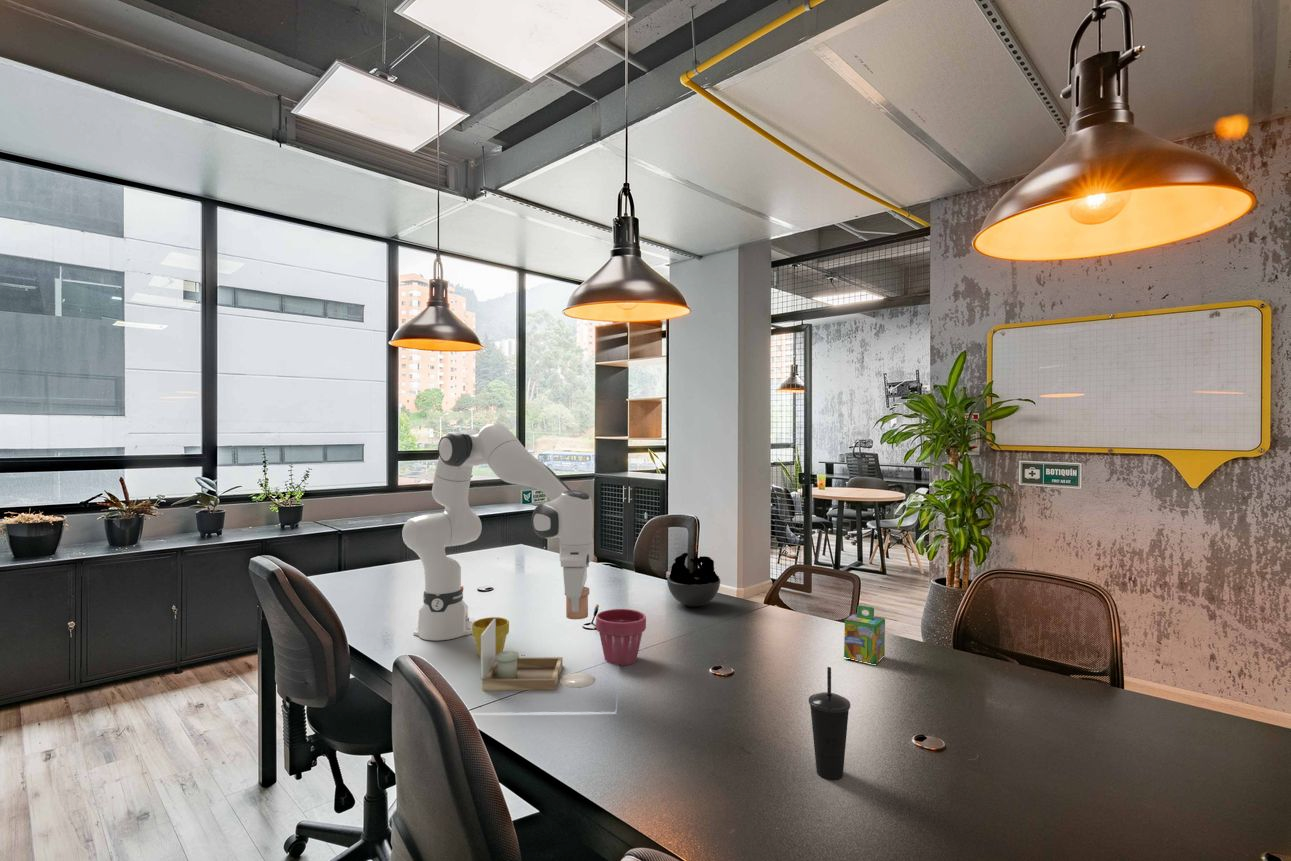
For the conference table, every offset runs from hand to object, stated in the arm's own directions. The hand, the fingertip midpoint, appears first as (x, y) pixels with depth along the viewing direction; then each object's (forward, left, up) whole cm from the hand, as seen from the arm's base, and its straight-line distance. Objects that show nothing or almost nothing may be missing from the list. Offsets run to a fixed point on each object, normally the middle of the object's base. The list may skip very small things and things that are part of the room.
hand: (576, 607), depth 161 cm
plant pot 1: (-20, -27, -20) cm, 39 cm away
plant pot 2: (-16, +11, -20) cm, 28 cm away
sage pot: (-2, -18, -19) cm, 27 cm away
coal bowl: (-72, +37, -20) cm, 83 cm away
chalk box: (-16, +81, -20) cm, 85 cm away
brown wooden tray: (-2, -14, -20) cm, 24 cm away
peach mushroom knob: (0, 0, -2) cm, 2 cm away
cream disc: (0, 0, -20) cm, 20 cm away
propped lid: (-2, -23, -17) cm, 29 cm away
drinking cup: (+44, +52, -20) cm, 71 cm away
